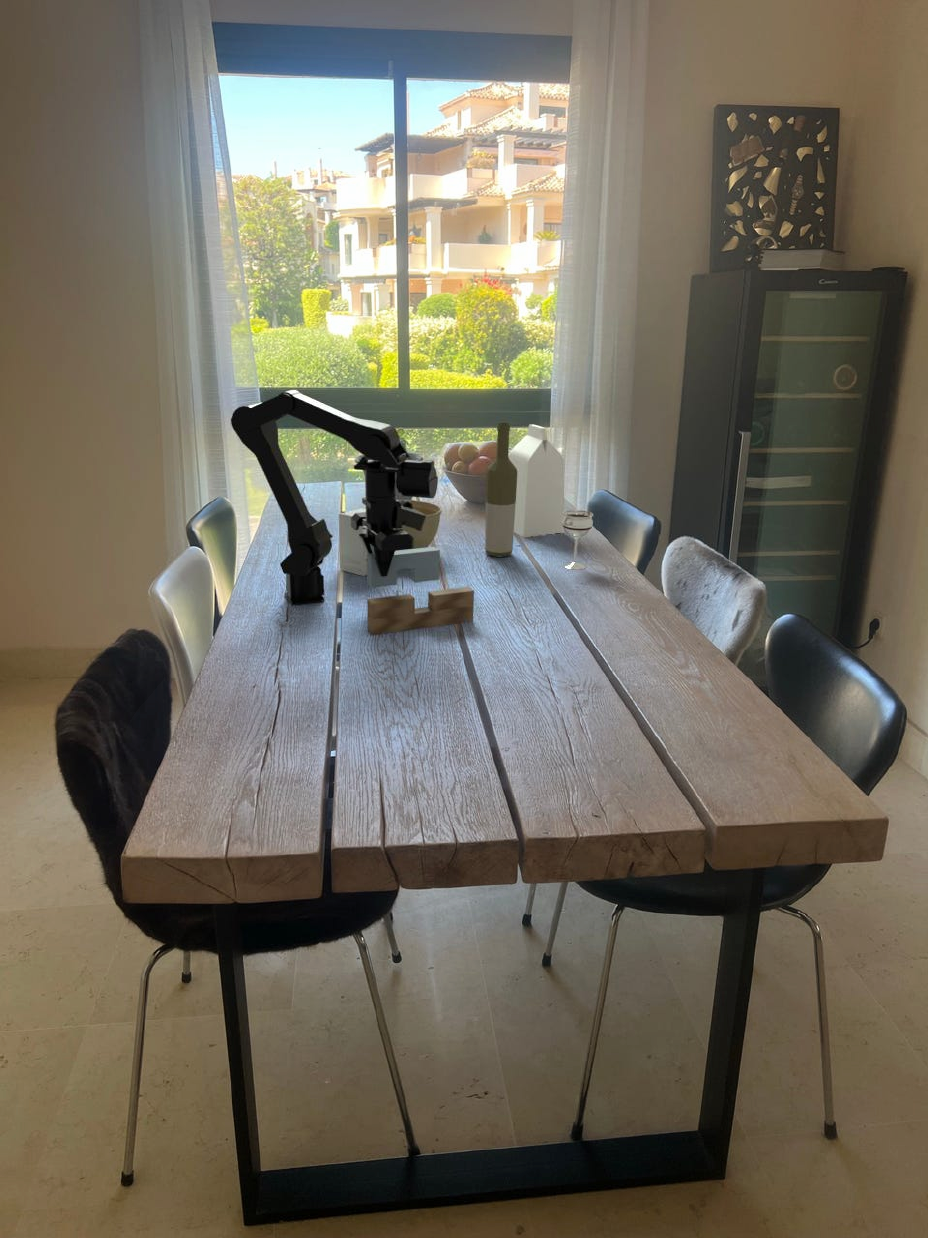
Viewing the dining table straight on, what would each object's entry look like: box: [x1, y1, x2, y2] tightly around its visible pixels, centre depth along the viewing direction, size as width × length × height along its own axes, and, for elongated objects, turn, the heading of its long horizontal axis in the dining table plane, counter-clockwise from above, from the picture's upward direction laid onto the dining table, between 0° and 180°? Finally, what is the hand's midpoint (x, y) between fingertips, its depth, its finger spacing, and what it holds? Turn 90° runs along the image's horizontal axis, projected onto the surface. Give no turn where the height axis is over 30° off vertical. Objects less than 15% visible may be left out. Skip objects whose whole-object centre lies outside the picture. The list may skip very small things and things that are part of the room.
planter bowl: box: [393, 499, 442, 551], centre depth 215 cm, size 16×16×11 cm
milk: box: [508, 423, 566, 538], centre depth 235 cm, size 12×12×26 cm
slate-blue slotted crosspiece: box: [366, 546, 441, 589], centre depth 182 cm, size 14×2×6 cm, turn 115°
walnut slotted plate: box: [366, 586, 475, 636], centre depth 173 cm, size 20×2×6 cm, turn 115°
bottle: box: [484, 422, 518, 558], centre depth 213 cm, size 7×7×30 cm
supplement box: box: [338, 508, 368, 577], centre depth 203 cm, size 7×7×13 cm
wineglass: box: [562, 509, 594, 570], centre depth 209 cm, size 7×7×12 cm
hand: (381, 574), depth 181 cm, fingers closed on slate-blue slotted crosspiece, 2 cm apart
